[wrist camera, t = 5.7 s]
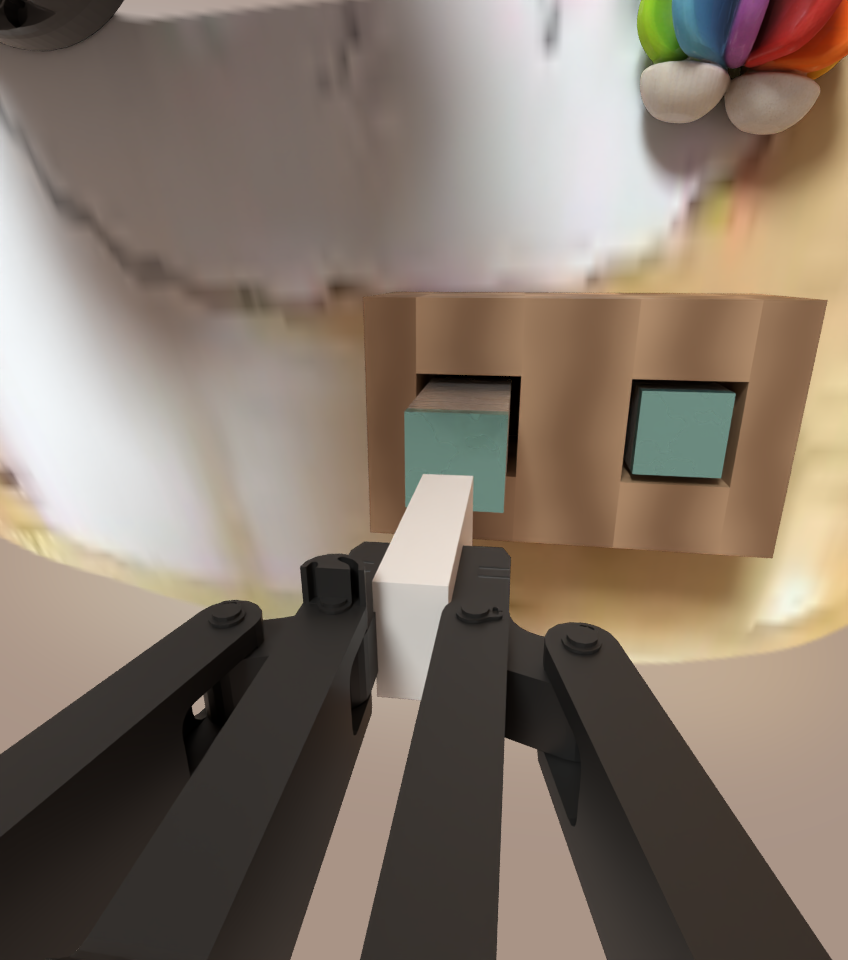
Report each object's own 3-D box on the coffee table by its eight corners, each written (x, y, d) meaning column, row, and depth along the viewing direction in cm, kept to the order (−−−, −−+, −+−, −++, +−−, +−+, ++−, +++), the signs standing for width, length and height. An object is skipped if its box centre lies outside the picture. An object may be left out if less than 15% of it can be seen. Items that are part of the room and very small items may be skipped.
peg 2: (609, 432, 36) (632, 474, 28) (616, 365, 35) (642, 390, 27) (678, 434, 35) (721, 478, 28) (688, 366, 34) (736, 393, 27)
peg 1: (432, 452, 32) (405, 507, 24) (432, 377, 31) (404, 411, 23) (507, 455, 31) (503, 512, 24) (511, 379, 30) (508, 415, 23)
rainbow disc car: (801, 147, 30) (882, 111, 23) (608, 120, 31) (633, 77, 24) (870, -60, 27) (987, -171, 20) (656, -84, 28) (699, -197, 21)
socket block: (399, 482, 39) (370, 532, 32) (396, 291, 35) (363, 297, 28) (720, 499, 36) (772, 558, 29) (757, 293, 32) (827, 300, 25)
